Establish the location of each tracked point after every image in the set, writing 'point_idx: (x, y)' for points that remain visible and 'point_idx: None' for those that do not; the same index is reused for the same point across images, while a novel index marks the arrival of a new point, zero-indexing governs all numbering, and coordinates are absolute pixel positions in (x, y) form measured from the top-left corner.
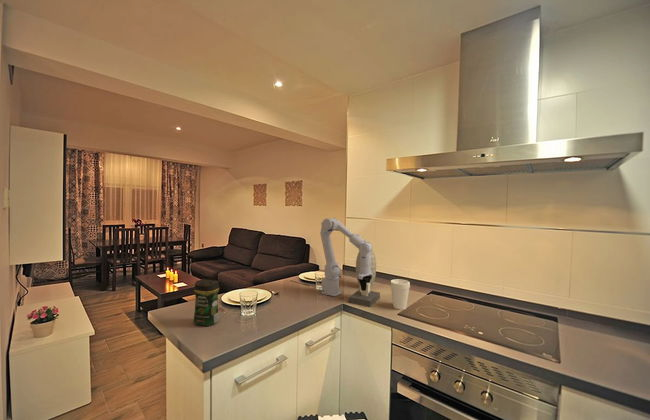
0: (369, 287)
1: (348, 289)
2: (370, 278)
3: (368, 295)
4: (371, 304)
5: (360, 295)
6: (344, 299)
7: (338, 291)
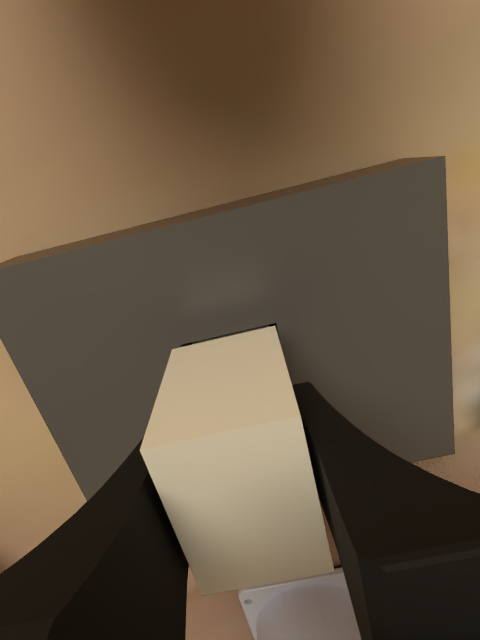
0: (199, 385)
1: None
2: (83, 574)
3: (230, 323)
4: (356, 171)
5: None
6: None
7: (294, 608)
